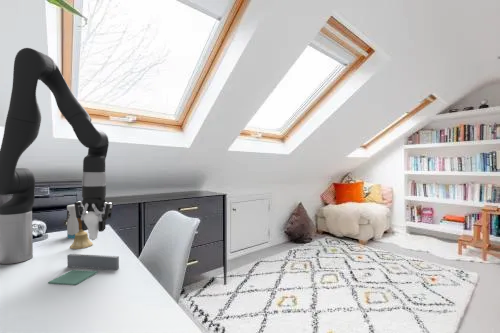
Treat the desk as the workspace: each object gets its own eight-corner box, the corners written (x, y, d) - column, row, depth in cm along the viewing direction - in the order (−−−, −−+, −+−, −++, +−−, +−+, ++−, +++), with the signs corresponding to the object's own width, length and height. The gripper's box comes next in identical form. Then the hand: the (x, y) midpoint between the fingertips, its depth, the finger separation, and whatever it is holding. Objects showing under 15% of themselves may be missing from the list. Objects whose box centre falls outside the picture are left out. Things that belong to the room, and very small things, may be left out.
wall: (67, 266, 91) (67, 255, 91) (70, 265, 92) (70, 253, 92) (116, 269, 88) (116, 257, 88) (118, 268, 89) (118, 256, 89)
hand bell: (76, 250, 108) (75, 210, 108) (65, 247, 112) (65, 209, 112) (96, 244, 115) (96, 207, 115) (86, 242, 119) (86, 206, 119)
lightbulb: (94, 243, 94) (94, 212, 94) (79, 242, 96) (79, 211, 95) (106, 238, 100) (107, 209, 100) (92, 237, 101) (92, 208, 101)
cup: (87, 234, 132) (86, 204, 131) (77, 238, 125) (76, 206, 125) (74, 234, 132) (74, 204, 132) (63, 238, 126) (63, 206, 125)
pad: (48, 283, 78) (48, 282, 78) (72, 271, 87) (72, 269, 87) (75, 285, 77) (75, 283, 77) (97, 272, 86) (97, 271, 86)
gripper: (68, 184, 95) (67, 232, 95) (105, 186, 93) (104, 234, 93) (83, 183, 102) (83, 227, 102) (118, 184, 100) (118, 229, 101)
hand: (93, 230), depth 98 cm, fingers closed on lightbulb, 5 cm apart
